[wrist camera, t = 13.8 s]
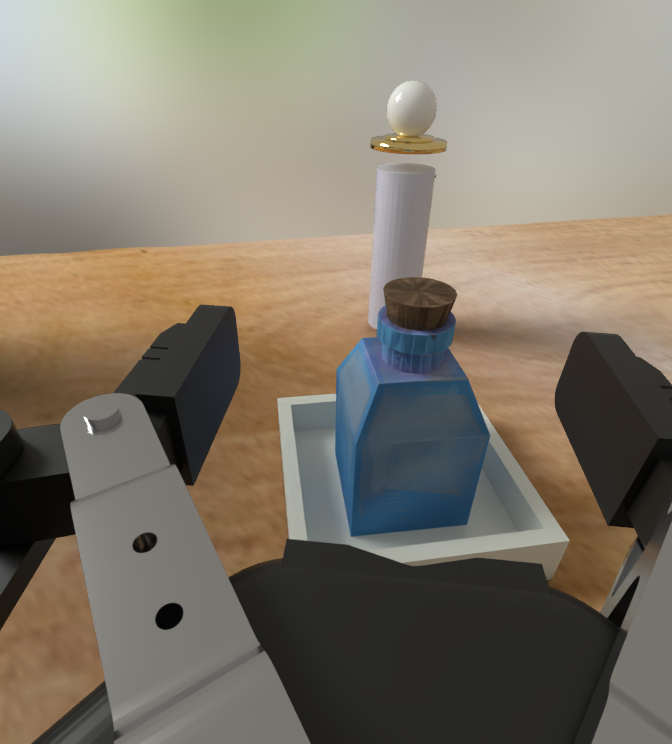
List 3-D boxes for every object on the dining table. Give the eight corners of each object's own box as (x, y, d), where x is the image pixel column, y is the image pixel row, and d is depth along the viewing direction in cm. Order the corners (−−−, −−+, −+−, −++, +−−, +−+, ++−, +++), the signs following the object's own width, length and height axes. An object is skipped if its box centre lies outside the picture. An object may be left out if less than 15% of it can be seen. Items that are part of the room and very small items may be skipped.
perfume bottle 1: (422, 346, 42) (458, 82, 31) (357, 340, 42) (370, 80, 31) (421, 317, 46) (452, 80, 35) (364, 312, 47) (376, 78, 36)
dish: (294, 616, 21) (292, 577, 20) (279, 433, 32) (277, 398, 30) (552, 579, 23) (569, 540, 21) (457, 418, 33) (464, 383, 32)
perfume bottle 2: (431, 444, 30) (463, 263, 23) (467, 524, 25) (520, 320, 18) (335, 452, 29) (338, 267, 22) (350, 536, 24) (361, 328, 17)
